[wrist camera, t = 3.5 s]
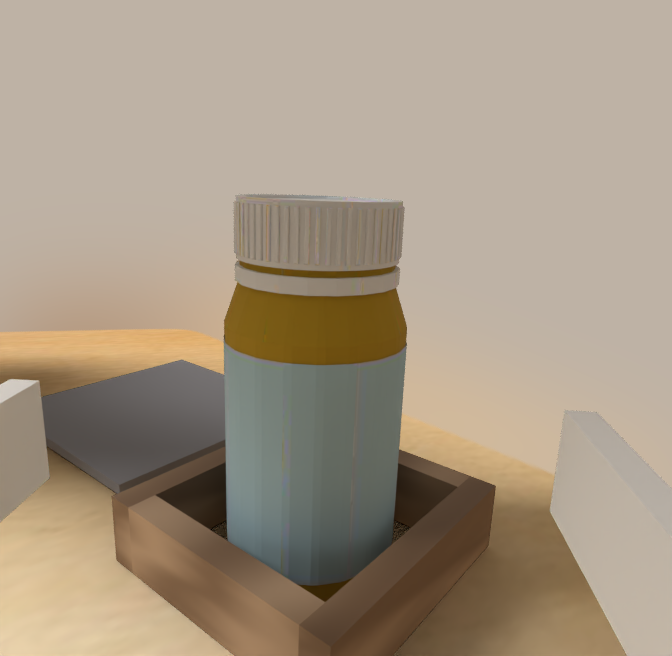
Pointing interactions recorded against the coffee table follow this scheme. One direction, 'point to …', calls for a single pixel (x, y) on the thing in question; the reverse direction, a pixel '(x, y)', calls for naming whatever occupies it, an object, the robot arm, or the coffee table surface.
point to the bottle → (314, 384)
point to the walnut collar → (281, 593)
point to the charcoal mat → (138, 423)
